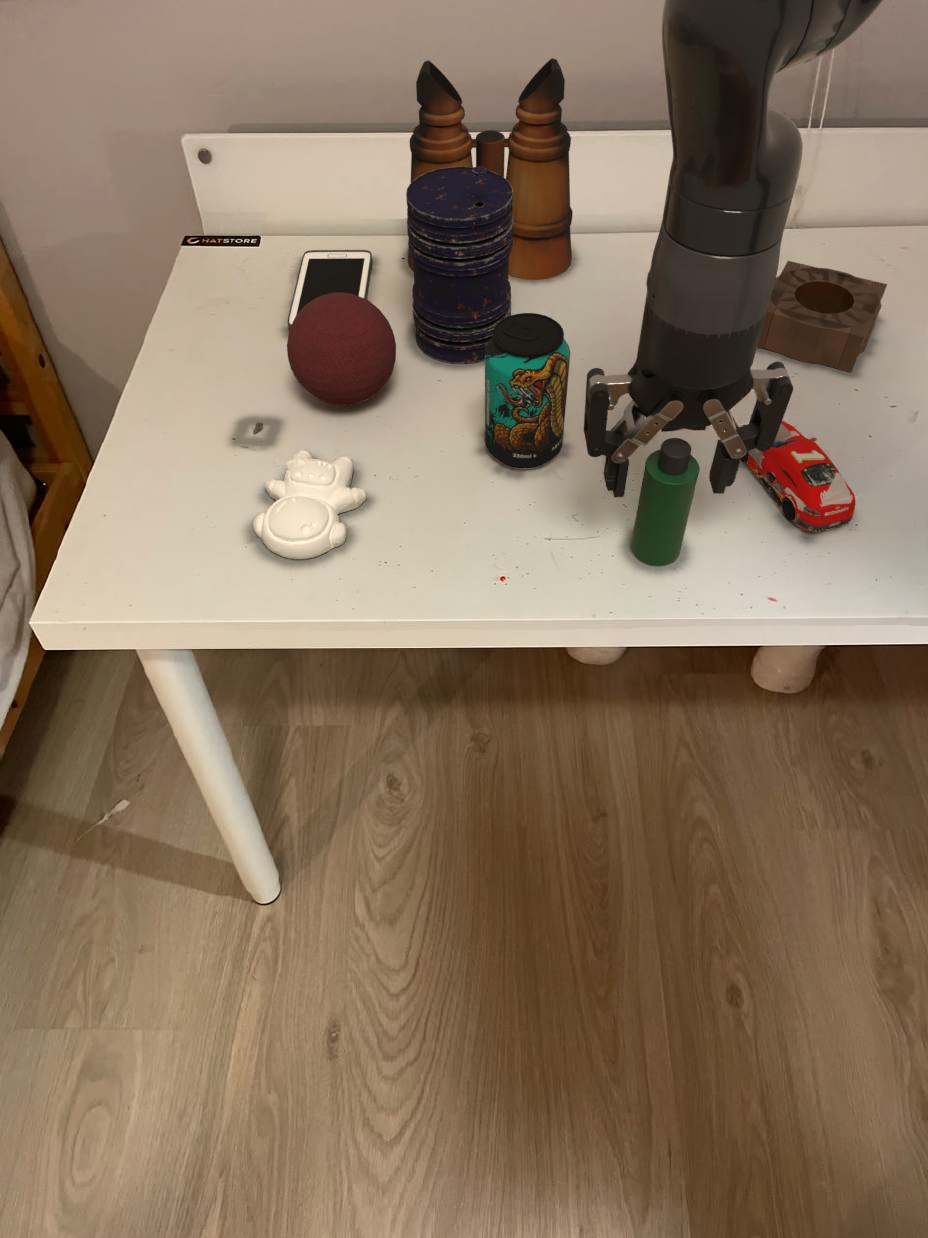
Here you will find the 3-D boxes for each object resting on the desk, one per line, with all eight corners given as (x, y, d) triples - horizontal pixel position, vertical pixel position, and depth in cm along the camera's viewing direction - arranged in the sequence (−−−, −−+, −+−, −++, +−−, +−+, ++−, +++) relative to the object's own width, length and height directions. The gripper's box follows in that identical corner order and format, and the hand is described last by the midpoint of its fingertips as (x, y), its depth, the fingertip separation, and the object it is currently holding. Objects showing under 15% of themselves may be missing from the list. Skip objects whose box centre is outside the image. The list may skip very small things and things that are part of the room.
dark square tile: (270, 445, 86) (267, 436, 85) (239, 444, 86) (236, 434, 85) (277, 423, 87) (274, 414, 86) (246, 422, 88) (243, 412, 87)
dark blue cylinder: (395, 330, 96) (380, 153, 82) (470, 296, 100) (468, 121, 86) (453, 377, 91) (447, 197, 77) (530, 339, 95) (538, 161, 81)
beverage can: (538, 483, 81) (546, 369, 72) (470, 456, 84) (468, 342, 74) (575, 437, 85) (587, 323, 76) (509, 413, 87) (512, 299, 78)
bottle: (686, 540, 77) (711, 439, 68) (670, 572, 75) (693, 472, 66) (641, 524, 78) (659, 423, 70) (623, 556, 76) (640, 455, 67)
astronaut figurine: (381, 471, 83) (378, 445, 80) (332, 569, 76) (327, 543, 73) (290, 454, 84) (285, 428, 82) (234, 548, 77) (226, 522, 75)
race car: (724, 442, 84) (733, 407, 81) (778, 430, 85) (789, 394, 82) (799, 543, 76) (812, 507, 73) (857, 528, 77) (873, 493, 74)
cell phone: (373, 257, 105) (372, 249, 104) (362, 334, 96) (361, 325, 95) (305, 257, 105) (303, 249, 104) (287, 334, 96) (285, 326, 95)
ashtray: (878, 318, 96) (891, 283, 93) (853, 375, 90) (866, 339, 87) (776, 292, 99) (785, 257, 96) (746, 346, 93) (755, 310, 90)
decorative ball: (280, 382, 91) (261, 290, 83) (372, 351, 94) (362, 259, 86) (321, 440, 85) (305, 348, 78) (418, 405, 88) (411, 312, 81)
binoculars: (406, 280, 102) (391, 84, 86) (409, 241, 107) (396, 49, 91) (574, 278, 101) (590, 81, 86) (569, 239, 107) (583, 46, 91)
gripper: (601, 333, 56) (578, 527, 69) (839, 325, 56) (772, 519, 69) (585, 265, 60) (567, 458, 73) (805, 257, 61) (748, 451, 74)
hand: (666, 487), depth 71 cm, fingers open, 7 cm apart
